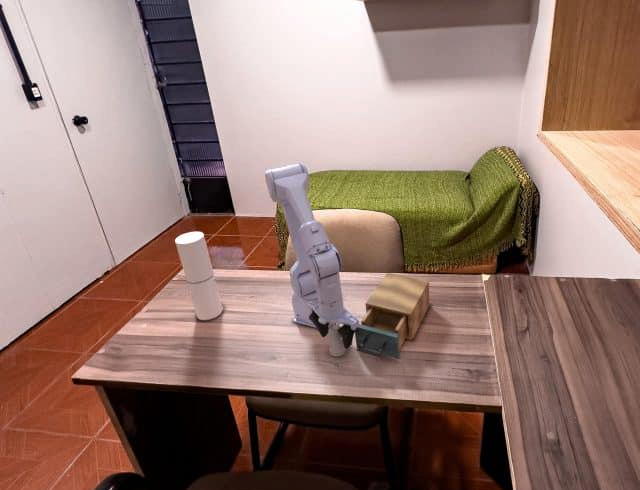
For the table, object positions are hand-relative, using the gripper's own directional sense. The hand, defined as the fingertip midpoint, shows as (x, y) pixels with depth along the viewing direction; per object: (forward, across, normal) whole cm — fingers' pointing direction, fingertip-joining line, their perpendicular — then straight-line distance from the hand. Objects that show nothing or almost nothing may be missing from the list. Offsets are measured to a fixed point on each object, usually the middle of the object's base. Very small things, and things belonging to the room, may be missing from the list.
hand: (336, 340), depth 97 cm
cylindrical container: (+3, -43, -8) cm, 44 cm away
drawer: (+3, +9, +8) cm, 12 cm away
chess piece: (+4, 0, 0) cm, 4 cm away
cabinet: (+3, +7, +18) cm, 20 cm away
